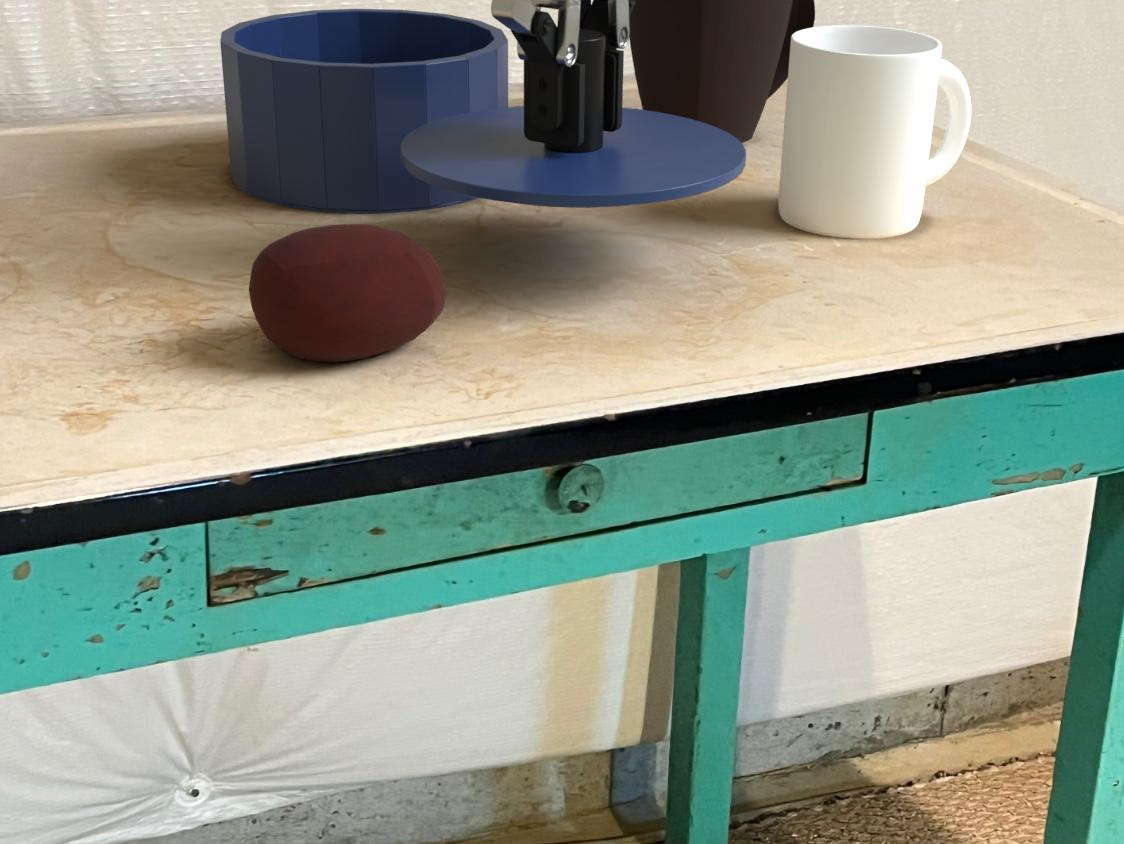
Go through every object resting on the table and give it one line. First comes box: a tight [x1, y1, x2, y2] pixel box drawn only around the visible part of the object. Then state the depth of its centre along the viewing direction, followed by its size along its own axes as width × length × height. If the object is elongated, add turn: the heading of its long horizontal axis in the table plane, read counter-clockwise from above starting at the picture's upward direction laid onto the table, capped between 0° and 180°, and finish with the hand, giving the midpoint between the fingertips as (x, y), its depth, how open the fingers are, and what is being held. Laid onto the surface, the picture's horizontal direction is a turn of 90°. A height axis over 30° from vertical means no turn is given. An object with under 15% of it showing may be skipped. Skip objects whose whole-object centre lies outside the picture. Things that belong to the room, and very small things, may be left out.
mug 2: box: [778, 24, 972, 240], centre depth 97 cm, size 12×8×10 cm
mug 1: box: [629, 0, 816, 144], centre depth 112 cm, size 10×14×12 cm
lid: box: [400, 28, 747, 209], centre depth 85 cm, size 18×18×7 cm
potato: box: [248, 223, 447, 363], centre depth 77 cm, size 8×9×6 cm
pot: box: [219, 8, 509, 215], centre depth 102 cm, size 17×17×8 cm
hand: (573, 131), depth 86 cm, fingers closed on lid, 3 cm apart
